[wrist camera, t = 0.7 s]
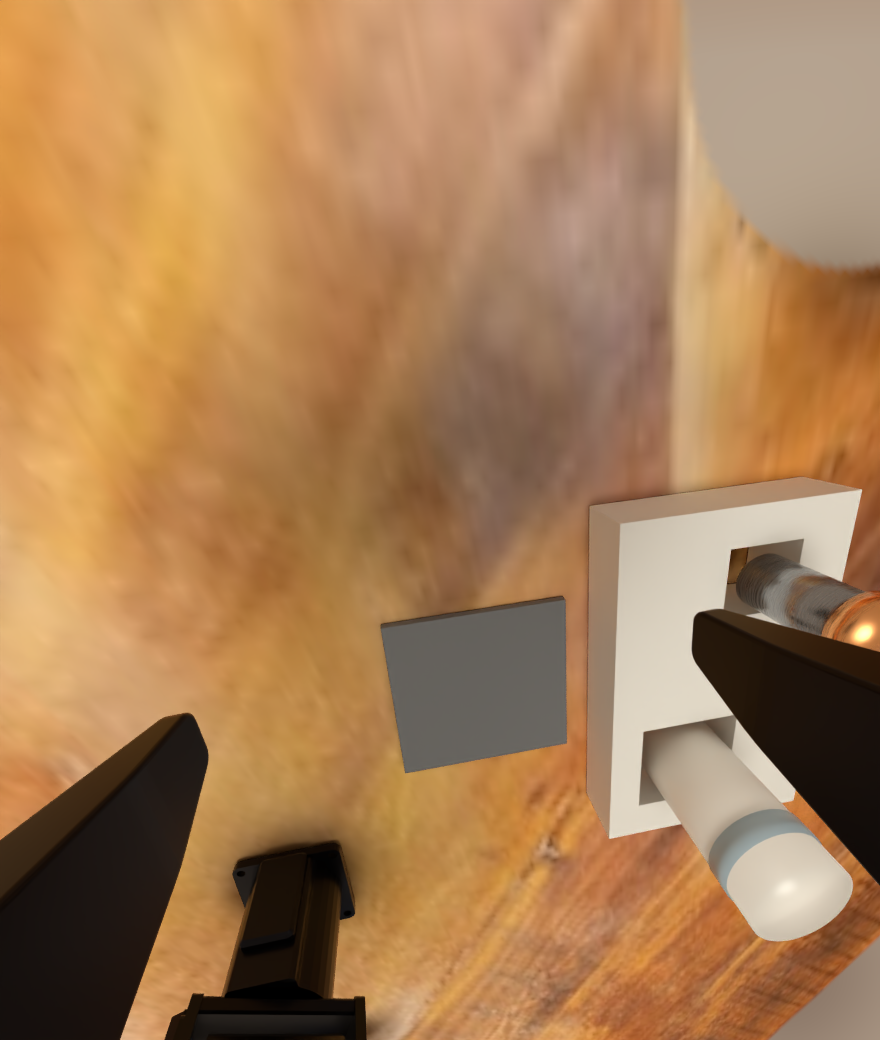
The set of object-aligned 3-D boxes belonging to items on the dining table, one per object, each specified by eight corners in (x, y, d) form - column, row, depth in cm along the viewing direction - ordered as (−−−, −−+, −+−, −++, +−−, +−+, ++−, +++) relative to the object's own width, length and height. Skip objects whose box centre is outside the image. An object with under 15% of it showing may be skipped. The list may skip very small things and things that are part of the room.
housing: (753, 759, 29) (793, 800, 26) (586, 792, 28) (609, 838, 25) (802, 476, 23) (862, 489, 20) (589, 505, 22) (620, 524, 19)
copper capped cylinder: (788, 604, 21) (912, 672, 16) (726, 615, 21) (833, 686, 16) (799, 542, 20) (936, 594, 15) (734, 552, 20) (851, 608, 15)
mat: (564, 738, 26) (566, 743, 26) (404, 767, 25) (405, 773, 25) (562, 596, 23) (565, 599, 23) (380, 624, 22) (380, 628, 22)
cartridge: (685, 742, 28) (841, 928, 18) (618, 755, 27) (742, 952, 18) (691, 685, 26) (865, 854, 17) (621, 697, 26) (757, 878, 16)
